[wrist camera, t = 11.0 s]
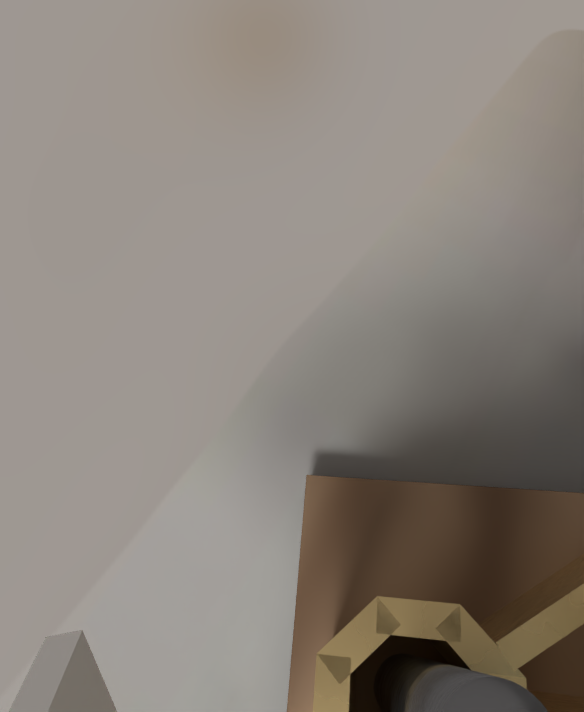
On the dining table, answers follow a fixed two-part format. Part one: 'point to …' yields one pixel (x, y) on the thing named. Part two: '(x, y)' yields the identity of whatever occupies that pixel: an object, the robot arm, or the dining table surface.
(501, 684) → the hinge pin
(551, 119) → the dining table surface
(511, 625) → the brass hinge
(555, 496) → the walnut board
